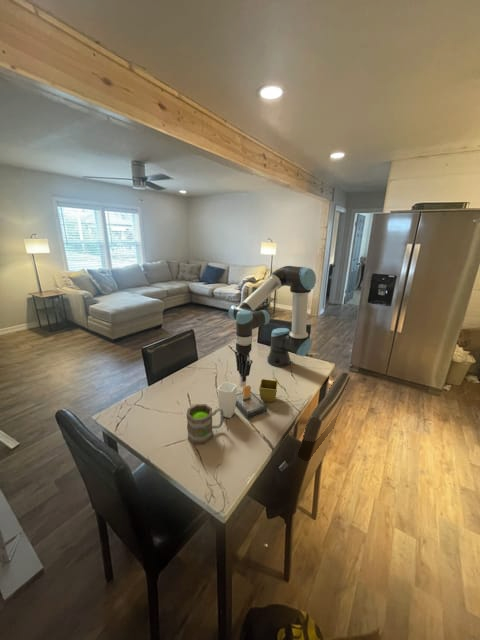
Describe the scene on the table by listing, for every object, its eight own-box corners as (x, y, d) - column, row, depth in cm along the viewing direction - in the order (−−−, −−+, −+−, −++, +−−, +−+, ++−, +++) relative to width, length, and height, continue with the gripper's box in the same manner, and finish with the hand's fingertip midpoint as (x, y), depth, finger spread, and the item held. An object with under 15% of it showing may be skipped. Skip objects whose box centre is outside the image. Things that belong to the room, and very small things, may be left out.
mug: (190, 448, 103) (189, 423, 100) (184, 430, 113) (183, 407, 109) (227, 437, 110) (227, 413, 106) (219, 421, 119) (219, 398, 115)
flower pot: (275, 405, 131) (276, 390, 128) (258, 403, 132) (259, 387, 130) (276, 395, 139) (278, 380, 136) (260, 393, 141) (261, 378, 138)
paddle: (249, 396, 132) (249, 384, 130) (250, 397, 131) (251, 386, 129) (242, 399, 130) (242, 387, 128) (243, 400, 129) (243, 388, 127)
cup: (216, 416, 122) (216, 388, 117) (223, 407, 128) (223, 381, 124) (230, 421, 119) (231, 392, 115) (237, 411, 126) (237, 384, 121)
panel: (249, 394, 139) (249, 389, 138) (267, 411, 126) (267, 406, 125) (231, 401, 133) (231, 395, 132) (247, 419, 120) (248, 413, 119)
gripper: (230, 339, 128) (230, 381, 135) (244, 349, 117) (242, 394, 124) (243, 337, 132) (242, 378, 139) (258, 346, 121) (256, 390, 128)
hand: (242, 385), depth 132 cm, fingers closed
